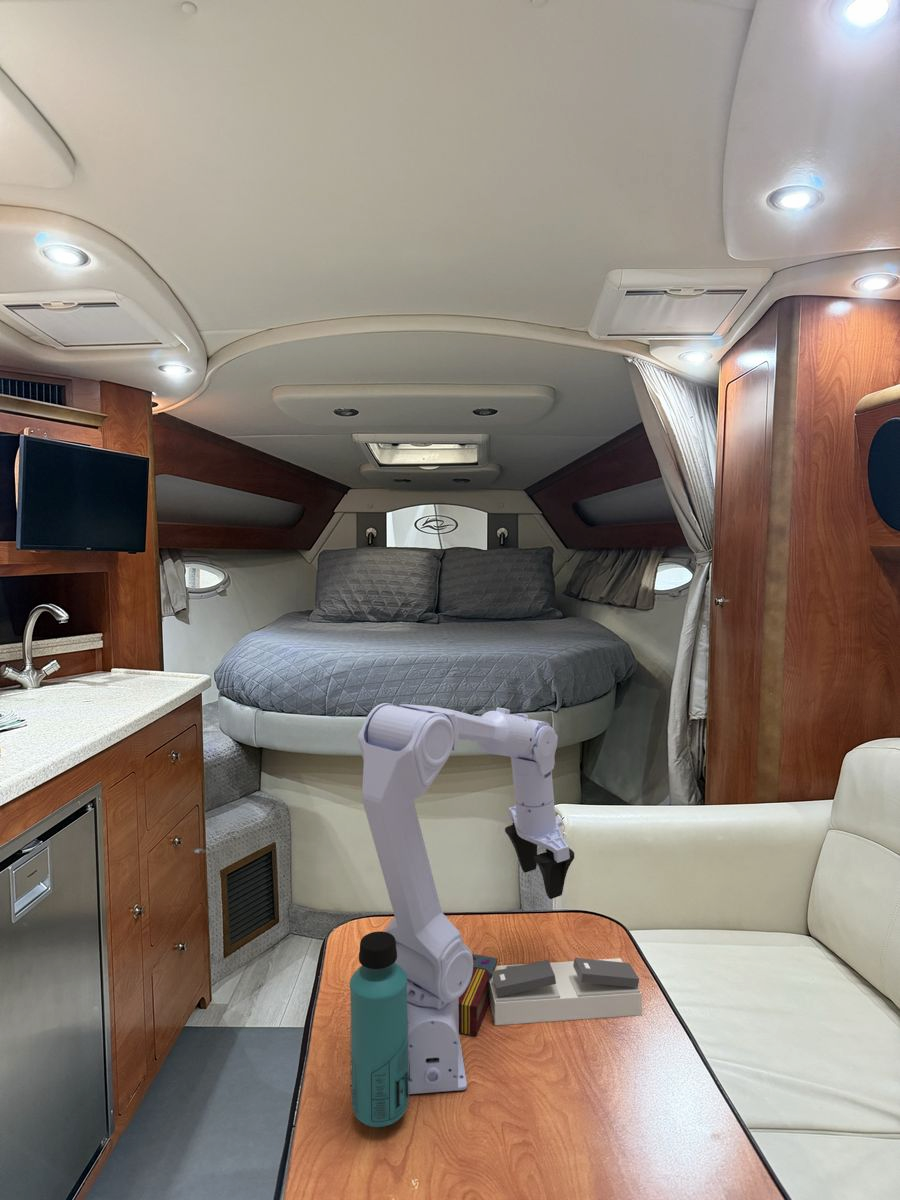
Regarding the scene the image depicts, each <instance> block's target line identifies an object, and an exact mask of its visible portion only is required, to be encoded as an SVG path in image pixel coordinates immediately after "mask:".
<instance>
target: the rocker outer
mask: <svg viewBox="0 0 900 1200" xmlns="http://www.w3.org/2000/svg"><path fill="white" fill-rule="evenodd" d="M573 961H574V964H573V967H574V969H575V971H576V973H577V975H578V977H579V979H580V981H581V982H583V983H594V984H605V985H615V986H626V987H637V988H639V983H640V977H639V976H638V974H637V973H636V972H635V970H634V968H633V967H632V965H631V963H630V962H624V961H622V962H613V961H603V960H601V959H591V958H581V957H580V958H579V957H574V958H573Z"/></svg>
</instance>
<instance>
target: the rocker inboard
mask: <svg viewBox="0 0 900 1200" xmlns="http://www.w3.org/2000/svg"><path fill="white" fill-rule="evenodd" d="M550 963H551V962H550V960H549V959H548V958H547V959H542V960H539V961H534V962H530V963H525V964H524V963H523V964H524V965H520V966H515V967H511V968H506V969H501V970H497V971H492V976H493V981H494V985H495V989H496V993H497V996H498V997H499V996H504V995H508V994H513V993H517V992H522V991H526V990H531V989H535V988H540V987H544V986H549V985H553V984H556V980H555V974H554V972H553V970H552V967H551V965H550Z"/></svg>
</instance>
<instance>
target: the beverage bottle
mask: <svg viewBox="0 0 900 1200" xmlns="http://www.w3.org/2000/svg"><path fill="white" fill-rule="evenodd" d="M396 959H397V950H396V940H395V937H394V936H393V935H392V934H390V933H387V932H385V931H373V932H370V933H367V934H366V935H364V936H363V937H362V938H361V939H360V942H359V952H358V962H359V963H360V965H361V966H359V967H358V968H357V969H356V970H355V971H354V972H353V974H352V975H351V977H350V980H349V989H350V990H349V991H350V1037H349V1040H350V1046H349V1049H350V1051H349V1053H350V1054H349V1055H350V1061H349V1068H350V1080H351V1084H350V1091H351V1092H350V1093H351V1094H350V1100H351V1105H350V1107H351V1108H352V1111H353V1112H354V1114H355V1115H354V1116H355V1117H356V1119H358V1121H359V1122H360V1123H362V1124H364V1125H365V1126H369V1127H371V1128H373V1127H374V1128H381V1127H386V1126H387V1127H388V1126H389V1125H393V1124H394V1123H396V1122H397V1121H399V1120H400V1119H401V1118H402V1117H403V1116H404V1114H405V1113H406V1112H407V1109H408V1105H409V1104H410V1094H409V1092H410V1088H409V1083H410V1082H408V1080H410V1060H408V1058H409V1057H410V1056H409V1057H408V1051H409V1050H408V1049H409V1048H408V1046H409V1045H408V1043H409V1042H408V1027H409V1026H408V1023H409V1022H408V1013H407V975H406V973H405V971H404V970H403V969H402V968H401V967H400V966H399V965H397V964H396V963H394V962H395V961H396ZM408 1010H409V1009H408ZM409 1054H410V1053H409ZM408 1061H409V1078H408Z"/></svg>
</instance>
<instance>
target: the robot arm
mask: <svg viewBox="0 0 900 1200" xmlns="http://www.w3.org/2000/svg"><path fill="white" fill-rule="evenodd" d="M510 713H511V710H510V709H508V708H504V707H496V709H495V710H489V711H487V712H484V713H483V714H482V715H481V716H477V715H474V714H469V713H466V712H461V711H458V710H454V709H451V708H450V709H449V708H445V707H439V706H433V705H422V704H421V705H420V704H409V703H408V704H407V703H405V704H403V703H402V704H399V706H398V705H395V704H393V703H391V702H390V703H389V702H385V703H384V702H383V703H380V704H378V705H376V706H375V707H374V708H372V709H371V710H370V711H369V713H368V714H367V716H366V718H365V720H364V722H363V724H362V727H361V729H360V730H359V733H358V734H357V742H358V745H359V749H360V752H361V756H362V760H363V770H362V791H361V797H362V798H361V799H362V804H363V808H364V812H365V815H366V818H367V822H368V825H369V826H368V827H369V831H370V832H371V836H372V840H373V843H374V848H375V850H376V853H377V858H378V862H379V864H380V865H379V866H380V868H381V872H382V876H383V879H384V884H385V886H386V890H387V893H388V898H389V900H390V904H391V908H392V911H393V915H394V916H393V918H392V919H391V920H390V922H389V923H388V925H387V927H386V928H385V929H384V932H387V933H390V934H392V935H393V936H394V937H395V940H396V950H397V959H396V961H395V962H394V963H396V964H397V965H399V966H400V967H401V968H402V969H403V970H404V971H405V973H406V975H407V1013H408V1022H409V1023H408V1026H409V1027H408V1042H409V1043H408V1045H409V1046H408V1048H409V1049H408V1050H409V1051H408V1057H409V1056H410V1057H409V1058H408V1060H410V1080H408V1082H410V1083H409V1088H410V1092H409V1095H417V1094H428V1093H430V1094H431V1093H441V1092H453V1091H464V1090H466V1089H467V1088H468V1083H467V1077H466V1070H465V1063H464V1058H463V1057H464V1056H463V1051H462V1045H461V1039H460V1033H459V997H460V996H461V995H462V994H463V993H464V991H465V990H466V988H467V987H468V985H469V982H470V980H471V977H472V973H473V956H472V954H473V952H472V951H471V950H472V949H470V948H469V947H468V945H466V944H465V943H464V941H463V938H462V934H461V932H460V931H459V930H458V929H457V928H456V926H455V925H454V924H453V923H452V922H451V921H450V920H449V918H448V917H447V916H446V915H445V914H444V913H443V910H442V907H441V903H440V899H439V895H438V891H437V887H436V883H435V880H434V876H433V871H432V868H431V864H430V859H429V856H428V853H427V848H426V845H425V844H426V843H425V841H424V836H423V833H422V829H421V824H420V821H419V817H418V813H417V810H416V806H415V805H416V804H415V799H417V798H419V797H421V796H424V795H425V794H426V792H427V791H428V789H429V788H430V787H431V785H432V783H434V781H435V779H436V777H437V776H438V775H439V773H440V771H442V769H443V767H444V765H445V764H446V763H447V761H448V759H449V757H450V755H451V754H452V751H456V750H457V749H458V743H459V740H461V741H462V740H463V741H468V742H469V741H470V742H476V745H477V747H478V748H479V749H480V750H481V751H482V752H484V753H486V754H490V755H496V756H497V755H498V756H503V757H510V762H511V771H512V783H513V791H514V793H513V794H514V803H515V804H514V806H512V807H511V806H510V807H508V815H509V817H508V818H509V820H510V821H511V822H512V824H511V825H508V826H506V827H505V828H504V832H505V833H506V835H507V837H508V838H509V841H510V842H511V844H512V846H513V847H514V850H515V854H516V855H517V858H518V862H519V866H520V868H521V870H522V872H523V873H524V874H526V873H528V872H531V871H534V870H535V871H536V870H537V867H538V868H539V870H540V873H541V877H542V880H543V885H544V889H545V890H544V891H545V893H546V896H547V898H549V900H554V899H555V898H558V897H561V896H562V895H563V891H564V887H565V886H564V885H565V880H566V876H567V873H568V871H569V868H570V866H571V864H572V862H573V860H574V859H575V852H574V851H573V850H572V849H571V848H570V846H569V845H568V844H567V843H566V842H565V840H564V837H563V834H562V832H561V829H560V827H562V826H563V825H564V823H563V820H562V819H561V818H560V817H559V816H556V809H555V797H554V784H553V770H554V768H555V764H556V760H555V755H556V750H557V747H558V742H559V741H558V734H556V731H555V729H554V728H553V727H552V726H550V725H551V724H550V723H549V722H547V721H542V720H538V719H530V718H529V715H527V714H525V713H517V714H516V715H514V714H510ZM538 846H539V847H541V848H544V849H545V852H542V853H539V854H538ZM408 1009H409V1010H408ZM409 1053H410V1054H409ZM408 1078H409V1061H408Z"/></svg>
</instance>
